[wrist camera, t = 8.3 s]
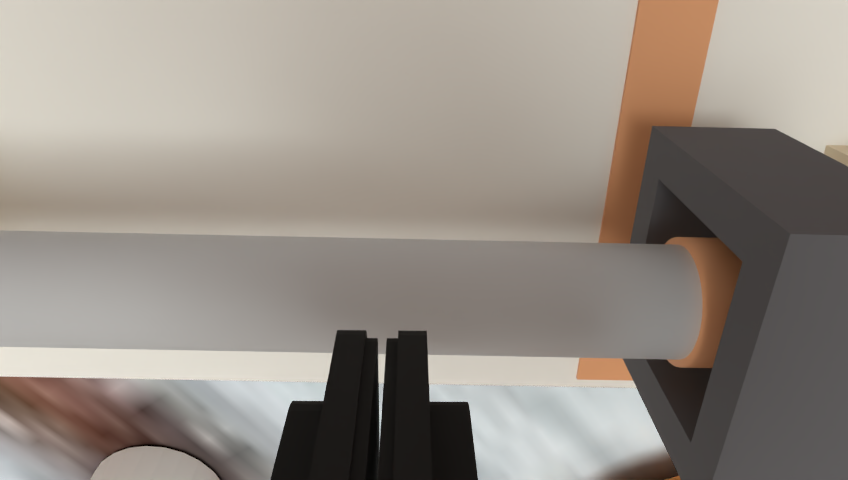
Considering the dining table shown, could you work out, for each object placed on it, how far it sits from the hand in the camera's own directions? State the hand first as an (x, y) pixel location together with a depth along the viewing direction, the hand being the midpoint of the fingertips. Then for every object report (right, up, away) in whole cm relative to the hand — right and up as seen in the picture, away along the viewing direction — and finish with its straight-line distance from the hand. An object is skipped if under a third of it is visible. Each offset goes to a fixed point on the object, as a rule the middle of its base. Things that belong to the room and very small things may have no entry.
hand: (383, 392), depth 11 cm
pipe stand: (-1, +5, +11) cm, 12 cm away
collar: (+9, +3, +8) cm, 12 cm away
